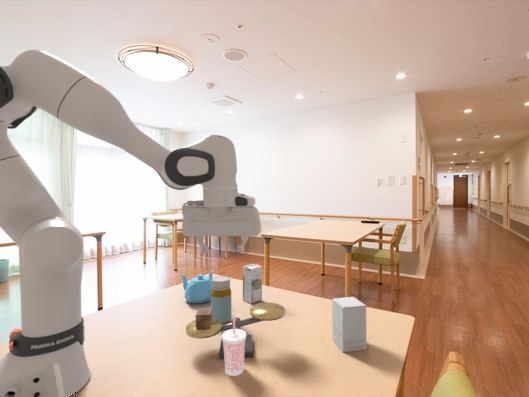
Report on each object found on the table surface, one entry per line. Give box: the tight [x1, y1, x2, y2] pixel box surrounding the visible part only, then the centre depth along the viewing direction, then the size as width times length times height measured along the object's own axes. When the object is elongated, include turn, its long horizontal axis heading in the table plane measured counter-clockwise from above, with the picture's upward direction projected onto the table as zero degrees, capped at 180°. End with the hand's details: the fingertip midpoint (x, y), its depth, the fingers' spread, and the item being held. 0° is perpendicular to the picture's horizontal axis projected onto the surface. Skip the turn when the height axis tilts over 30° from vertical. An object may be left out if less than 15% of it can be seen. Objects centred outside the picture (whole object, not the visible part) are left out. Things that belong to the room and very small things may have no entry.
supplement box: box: [331, 296, 367, 353], centre depth 81 cm, size 7×7×13 cm
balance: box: [185, 302, 286, 360], centre depth 79 cm, size 28×10×11 cm, turn 95°
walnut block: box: [195, 308, 212, 330], centre depth 79 cm, size 4×4×4 cm
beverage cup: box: [221, 314, 247, 377], centre depth 70 cm, size 6×6×14 cm
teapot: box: [180, 269, 214, 304], centre depth 118 cm, size 15×15×10 cm
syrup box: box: [242, 263, 263, 305], centre depth 115 cm, size 6×6×14 cm
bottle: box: [210, 275, 233, 325], centre depth 96 cm, size 7×7×15 cm
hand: (222, 253), depth 72 cm, fingers open, 8 cm apart
